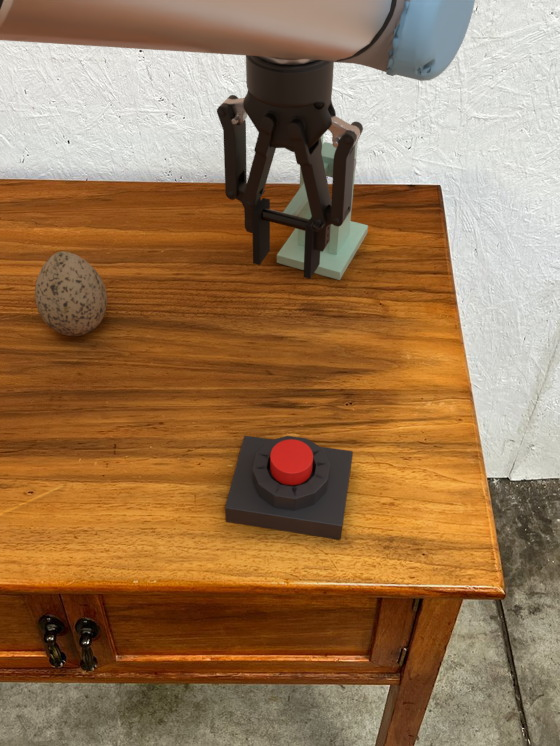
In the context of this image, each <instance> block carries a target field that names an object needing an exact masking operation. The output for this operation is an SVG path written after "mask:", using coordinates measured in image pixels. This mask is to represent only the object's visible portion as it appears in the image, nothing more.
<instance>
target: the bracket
mask: <svg viewBox="0 0 560 746" xmlns="http://www.w3.org/2000/svg"><path fill="white" fill-rule="evenodd" d="M321 141H322V145H323V143H324V134H323V135H322V136H321ZM358 145H359V140H358V141H357V143H356V145H355V158H354V172H353V186H352V201H351V211H350V212H349V214H348V216H347V217H346V219H345V220H344V222H343V223H342V225H341V226H334V225H333V224H331V228H330V241H329V242H328V244H327V246H326V247H325V249H324V250H323V252H322V251H320V264H319V266H318V267H317V269H316V271H315V272H314V274H315V275H319V276H323V277H327V278H331V279H334V280H337V281H340V280H341V279H342V278H343V275H344V274H345V272H346V270H347V269H348V267H349V265H350V264H351V262H352V260H353V259H354V257H355V256H356V254H357V252H358V251H359V249H360V247H361V245H362V243H363V242H364V240H365V238H366V237H367V235H368V231H369V225H368V224H365V223H361V222H356V221H352V209H353V199H354V189H355V187H354V186H355V178H356V177H355V176H356V166H357V155H358ZM303 184H304V180H303V176H302V172H301V167H300V166H299V189H300V188H301V186H302V185H303ZM298 217H302V218H306V219H310V218H311V217H312V215H311V211H310V206H309V202H308V201H307V203H306V204H305V205H304V207H303V208H302V210H301V211H300V213H299V214H298ZM304 250H305V231H303V230H300V229H296V228H294V229H293V231H292V233H290V236H288V238H287V239H286V241H285V243H284V244H283V245H282V246H281V248H280V250H278V252H277V254H276V263H277V264H280V265H283V266H286V267H287V266H288V267H291V268H294V269H298V270H302V271H304Z"/></svg>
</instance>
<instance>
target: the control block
mask: <svg viewBox="0 0 560 746" xmlns="http://www.w3.org/2000/svg"><path fill="white" fill-rule="evenodd" d="M289 439H293V440H299V441H301V442H304V443H305V444H307V445H308V446H309V447H310V449H311V450H312V453H313V466H312V473H311V475H310V477H309V478H308V479H307V480H306V481H305V482H303V483H301V484H298V485H285V484H282V483H280V482H278V481H277V480H276V479H275V478H274V477H273V476H272V474H271V470H270V455H271V451H272V449H273V447H274V446H275V445H276V444H278V443H279V442H281V441H284V440H289ZM353 455H354V452H353V451H352V450H346V449H340V448H334V447H333V448H332V447H326V446H320V445H318V444H317V443H315V442H313V441H312V440H310V439H309V438H307V437H300V436H299V437H298V436H294V435H293V436H292V435H286V436H281V437H278V438H275V439H271V438H264V437H258V436H250V435H244V436H243V439H242V443H241V446H240V450H239V454H238V457H237V461H236V465H235V468H234V473H233V476H232V480H231V484H230V487H229V491H228V494H227V498H226V501H225V507H224V513H225V522H226V523H230V524H238V525H242V526H243V525H244V526H250V527H257V528H262V529H269V530H275V531H281V532H287V533H294V534H300V535H307V536H313V537H319V538H327V539H331V540H339V541H341V539H342V534H343V527H344V520H345V513H346V506H347V505H346V504H347V499H348V498H347V497H348V492H349V483H350V476H351V469H352V461H353Z"/></svg>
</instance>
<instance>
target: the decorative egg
mask: <svg viewBox="0 0 560 746" xmlns="http://www.w3.org/2000/svg"><path fill="white" fill-rule="evenodd" d="M107 293H108V292H107V290H106V286H105V284H104V281H103V279H102V276H101V275H100V273H99V272H98V271H97V270H96V269H95V268H94V266H92V264H90V263H89V262H88V261H87V260H85V259H84V258H82V257H81V256H80V255H77V254H75V253H73V252H70V251H65V250H62V251H61V250H60V251H56V252H55V253H54V254H52V255H51V256H50V257H49V258H48V259H47V260H46V261H45V262H44V263H43V265H42V266H41V268H40V270H39V272H38V276H37V278H36V282H35V288H34V298H35V304H36V308H37V311H38V313H39V315H40V317H41V319H42V320H43V322H44V323H45V324H46V325H47V326H48V327H49V328H50V329H52V330H53V331H55V332H56V333H58V334H60V335H63V336H67V337H80V336H84V335H87V334H89V333H91V332H92V331H94V330H95V329H96V328H98V326H99V325H100V324H101V323H102V321H103V319H104V317H105V315H106V311H107V307H108V294H107Z"/></svg>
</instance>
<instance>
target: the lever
mask: <svg viewBox="0 0 560 746" xmlns="http://www.w3.org/2000/svg"><path fill="white" fill-rule="evenodd" d="M335 151H336V148H335V147H334V146H333V143H331V142H326V141H323V145H322V151H321V153H322V158H323V163H324V168H325V173H326V177H328V178H333V161H334V154H335ZM307 201H308V198H307V193H306V189H305V185H304V184H303V185H302V186H301V188H300V187H299V188H298V190H297V192H296V193H295V194H294V196H293V197H292V199H291V200H290V201H289V203H288V204H287V206H286V207H285V208H284V210H283V211H279V210H275V209H271V208H270V209H267V208H264V209H263V211H262V214H261V219H262V220H265V221H269V222H270V223H274V224H277V225H281V226H285V227H288V228H292V229H295V228H296V229H300V230H303V231H305V226H306V224H307V223H308V221H309V220H310V219H306V218H302V217H299V213H300V211H301V210H302V208H303V207H304V205H305V204H306V203H307Z"/></svg>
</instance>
